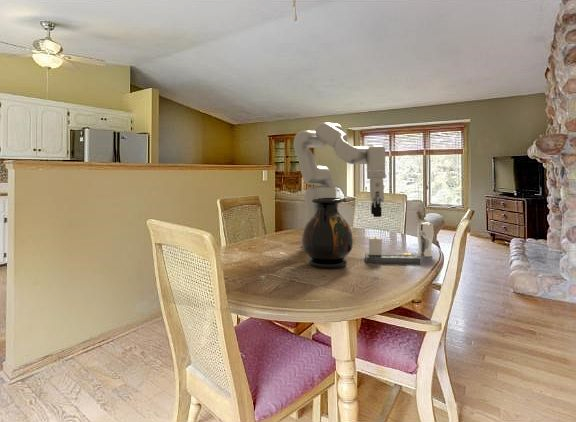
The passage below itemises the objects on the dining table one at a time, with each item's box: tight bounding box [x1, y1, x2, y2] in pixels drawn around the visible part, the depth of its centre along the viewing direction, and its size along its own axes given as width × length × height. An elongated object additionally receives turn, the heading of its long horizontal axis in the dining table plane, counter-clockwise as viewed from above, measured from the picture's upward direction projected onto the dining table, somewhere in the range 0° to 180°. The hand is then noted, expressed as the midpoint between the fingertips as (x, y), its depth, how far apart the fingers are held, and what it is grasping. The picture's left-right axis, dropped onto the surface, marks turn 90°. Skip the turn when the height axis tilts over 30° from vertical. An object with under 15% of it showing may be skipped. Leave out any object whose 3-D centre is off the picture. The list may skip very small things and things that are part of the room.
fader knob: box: [368, 236, 383, 255], centre depth 153 cm, size 5×4×7 cm
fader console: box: [364, 252, 422, 265], centre depth 153 cm, size 22×9×3 cm, turn 82°
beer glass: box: [416, 221, 435, 258], centre depth 161 cm, size 7×7×15 cm
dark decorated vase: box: [301, 197, 354, 270], centre depth 148 cm, size 22×22×28 cm
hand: (376, 215), depth 151 cm, fingers open, 9 cm apart
